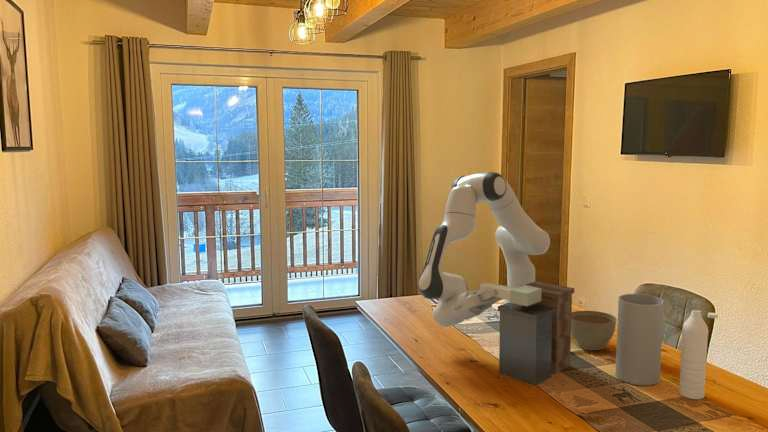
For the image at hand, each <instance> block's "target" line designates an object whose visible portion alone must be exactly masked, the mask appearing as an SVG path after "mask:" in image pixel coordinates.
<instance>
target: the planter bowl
mask: <svg viewBox="0 0 768 432" xmlns="http://www.w3.org/2000/svg"><path fill="white" fill-rule="evenodd" d="M617 322H618V318H617V317H616V316H614V315H612V314H610V313H607V312H604V311H596V310H576V311H572V313H571V336H572V338H573V339H574V340H575V341H576V344H577V345H576V346H578V347H579V348H581V349H583V350H587V351H588V350H589V351H601V350H604V349H606V347H607V344H609V342H610V341H611V339H612V338H613V336H614V333H615V330H616V323H617Z"/></svg>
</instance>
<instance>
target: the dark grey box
mask: <svg viewBox="0 0 768 432" xmlns="http://www.w3.org/2000/svg"><path fill="white" fill-rule="evenodd" d="M497 312H499V348H498V349H499V352H498V353H499V354H498V355H499V357H498V358H499V361H498V365H499V367H498V368H499V369H498V374H500V375H502V376H506V377H508V378H512V379H515V380H517V381H520V382H523V383H527V384H530V385H532V386H537V385H539V384H541V383H542V382H545V381H546V380H547V379H549V378H551V377H552V373H551V349H552V314H554V313H555V308H550V307H546V306H541V305H537V304H532V305H530V306H523V305H519V304H514V303H510V302H508V303H506V304H504V303H503V304H501V305H498V306H497Z"/></svg>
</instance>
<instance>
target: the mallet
mask: <svg viewBox="0 0 768 432" xmlns="http://www.w3.org/2000/svg"><path fill="white" fill-rule="evenodd" d="M495 289H496V290H497V292H498V294H497V295H495V296H493V297H497V298H502V299H501V300H504V299H506V300H510V303H514V304H519V305H523V306H530V305H532V304H535V303H537V302H540V301H541V293H542V288H537V287H532V286H527V285H524V286H521V287H518V288H512V287H507V286H506V285H505V286H502V285H501V284H496V283H492V282H488V281H487V282H484V283H480V284H479V290H480V292H485V293H486V292H489V291H492V290H495Z"/></svg>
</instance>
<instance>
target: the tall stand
mask: <svg viewBox="0 0 768 432" xmlns="http://www.w3.org/2000/svg"><path fill="white" fill-rule="evenodd" d="M526 285H527V286H532V287H537V288H542V293H541V301H540V302H537V303H535V304H537V305H541V306H546V307H550V308H555V313H554V314H552V349H551V374H555V375H556V374H558V373H560V372H562V371H564V370H566V369H567V368H569V367H570V366H571V345H572V344H571V343H572V333H571V313H572V312H573V311H572V308H573V307H572V306H573V294H574V293H575V287H569V286H564V285H559V284H553V283H548V282H543V281H538V280H537V281H536V280H535V282H532V283H529V284H526ZM523 286H524V285H523ZM520 287H521V286H520Z"/></svg>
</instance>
